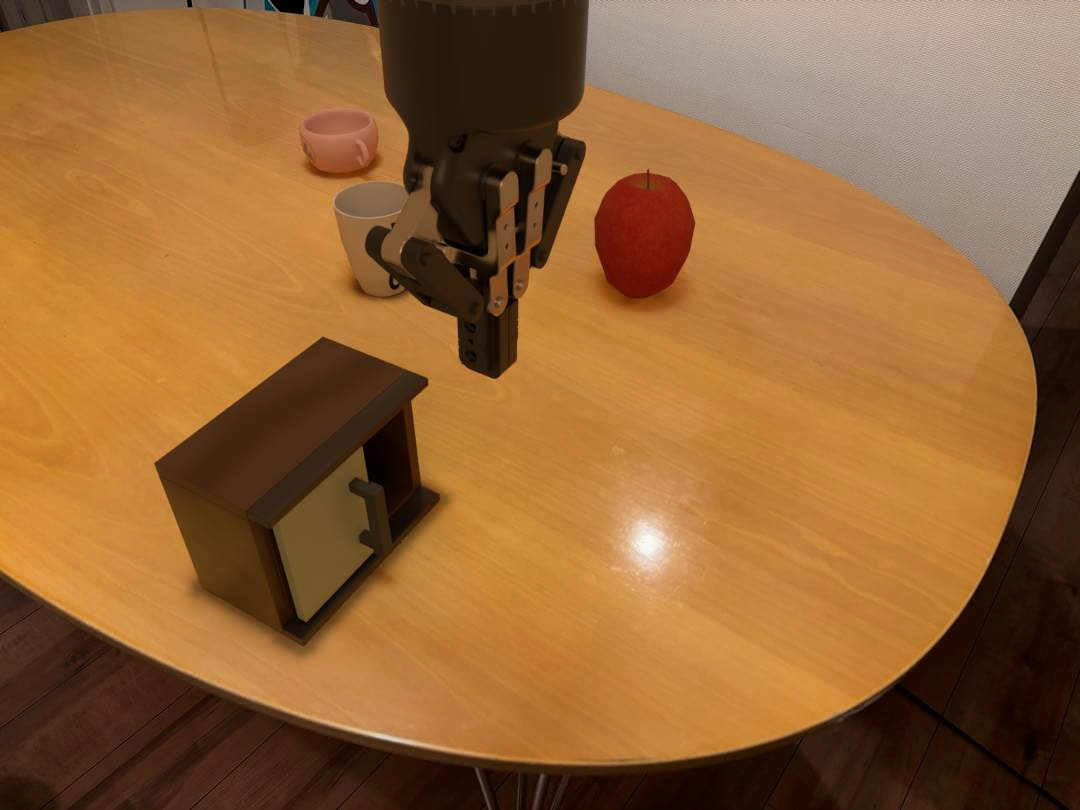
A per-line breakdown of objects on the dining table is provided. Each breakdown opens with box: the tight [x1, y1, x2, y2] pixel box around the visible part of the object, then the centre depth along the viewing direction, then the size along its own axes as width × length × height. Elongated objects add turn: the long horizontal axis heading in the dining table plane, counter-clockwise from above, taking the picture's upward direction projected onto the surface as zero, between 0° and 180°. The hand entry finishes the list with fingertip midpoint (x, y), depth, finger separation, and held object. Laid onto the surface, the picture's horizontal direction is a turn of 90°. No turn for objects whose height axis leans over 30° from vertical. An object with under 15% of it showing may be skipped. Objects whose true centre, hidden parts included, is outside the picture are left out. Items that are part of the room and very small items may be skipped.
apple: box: [593, 168, 696, 300], centre depth 90 cm, size 10×10×14 cm
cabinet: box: [153, 336, 441, 646], centre depth 63 cm, size 10×16×12 cm, turn 149°
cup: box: [332, 180, 409, 298], centre depth 92 cm, size 8×8×10 cm
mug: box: [298, 107, 379, 174], centre depth 115 cm, size 12×10×6 cm
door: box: [273, 446, 394, 622], centre depth 60 cm, size 3×8×10 cm, turn 149°
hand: (489, 365), depth 42 cm, fingers closed
